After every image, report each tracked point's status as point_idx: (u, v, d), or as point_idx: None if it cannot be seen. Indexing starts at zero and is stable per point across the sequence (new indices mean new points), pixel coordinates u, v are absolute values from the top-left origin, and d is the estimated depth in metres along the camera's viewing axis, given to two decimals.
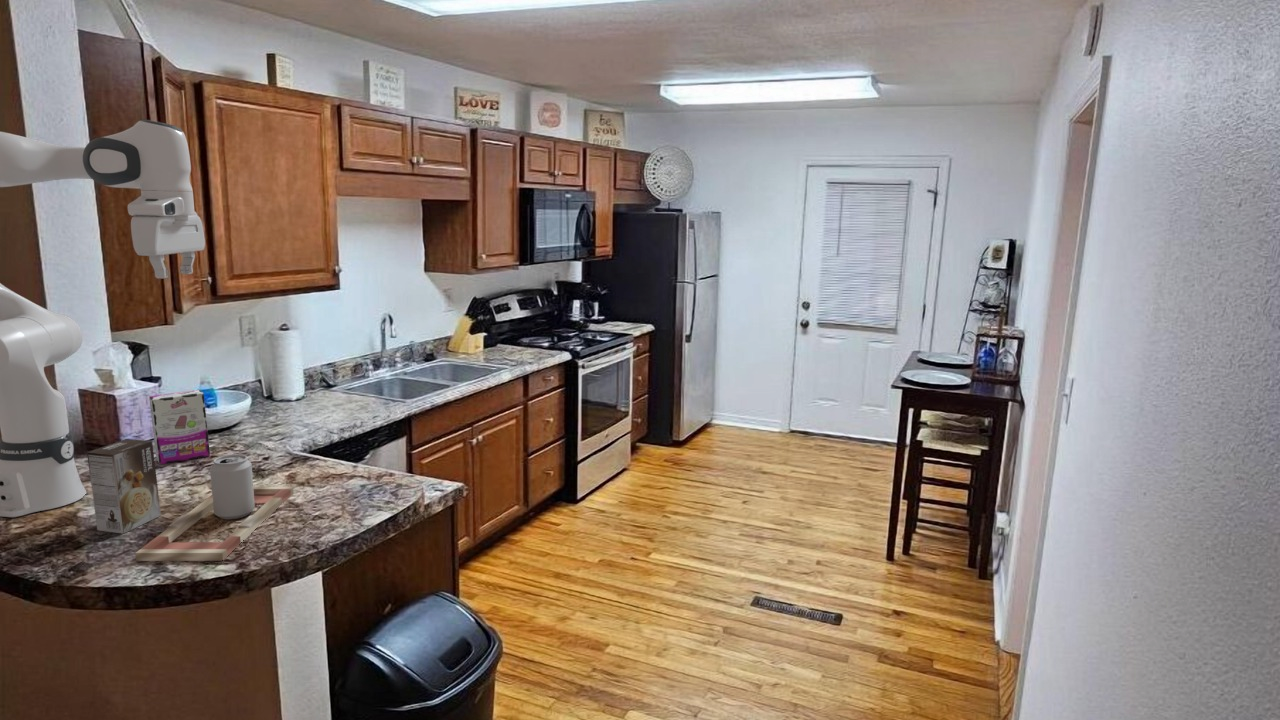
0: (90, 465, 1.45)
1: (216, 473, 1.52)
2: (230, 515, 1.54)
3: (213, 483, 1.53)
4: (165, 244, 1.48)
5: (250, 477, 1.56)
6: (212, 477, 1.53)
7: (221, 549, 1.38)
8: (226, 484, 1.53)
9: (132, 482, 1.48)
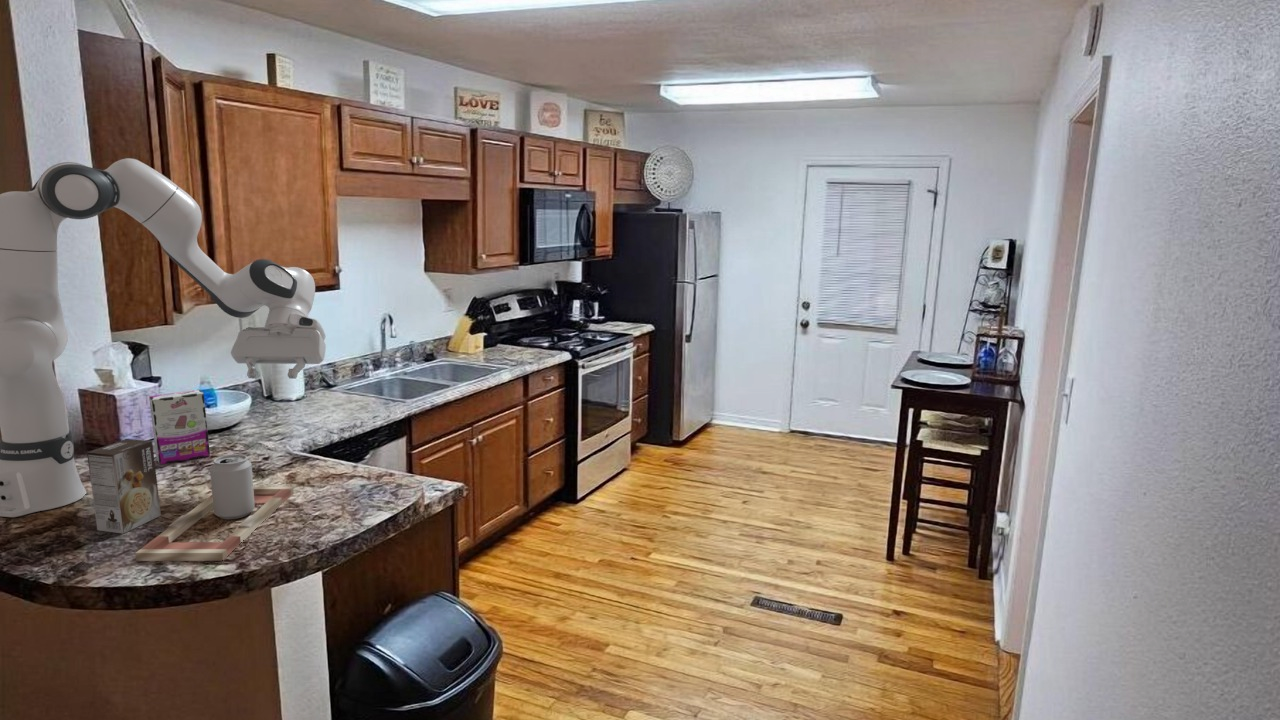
0: (90, 465, 1.45)
1: (216, 473, 1.52)
2: (230, 515, 1.54)
3: (213, 483, 1.53)
4: None
5: (250, 477, 1.56)
6: (212, 477, 1.53)
7: (221, 549, 1.38)
8: (226, 484, 1.53)
9: (132, 482, 1.48)
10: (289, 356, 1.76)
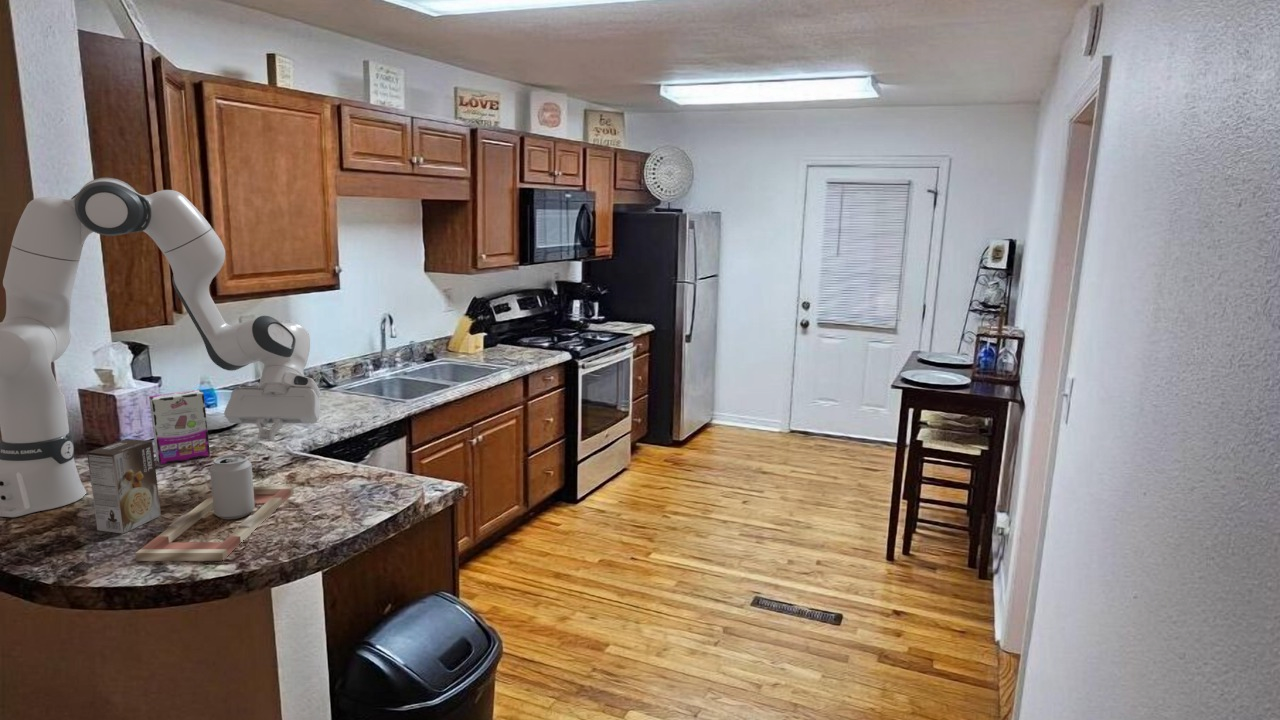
0: (91, 465, 1.45)
1: (216, 473, 1.52)
2: (230, 515, 1.54)
3: (213, 483, 1.53)
4: None
5: (250, 477, 1.56)
6: (212, 477, 1.53)
7: (221, 549, 1.38)
8: (226, 484, 1.53)
9: (132, 482, 1.48)
10: (284, 417, 1.74)
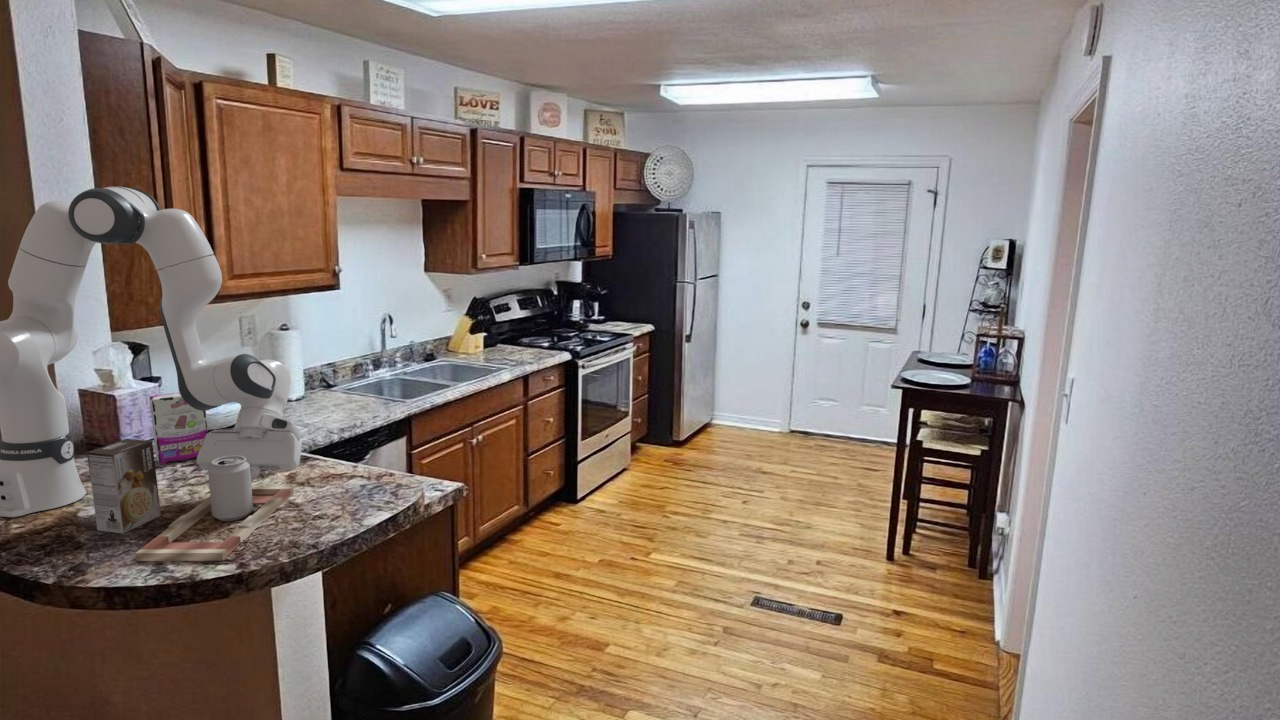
0: (91, 465, 1.45)
1: (213, 475, 1.51)
2: (228, 517, 1.53)
3: (211, 484, 1.52)
4: None
5: (248, 479, 1.55)
6: (210, 478, 1.52)
7: (221, 549, 1.38)
8: (224, 486, 1.52)
9: (132, 482, 1.48)
10: (261, 463, 1.62)
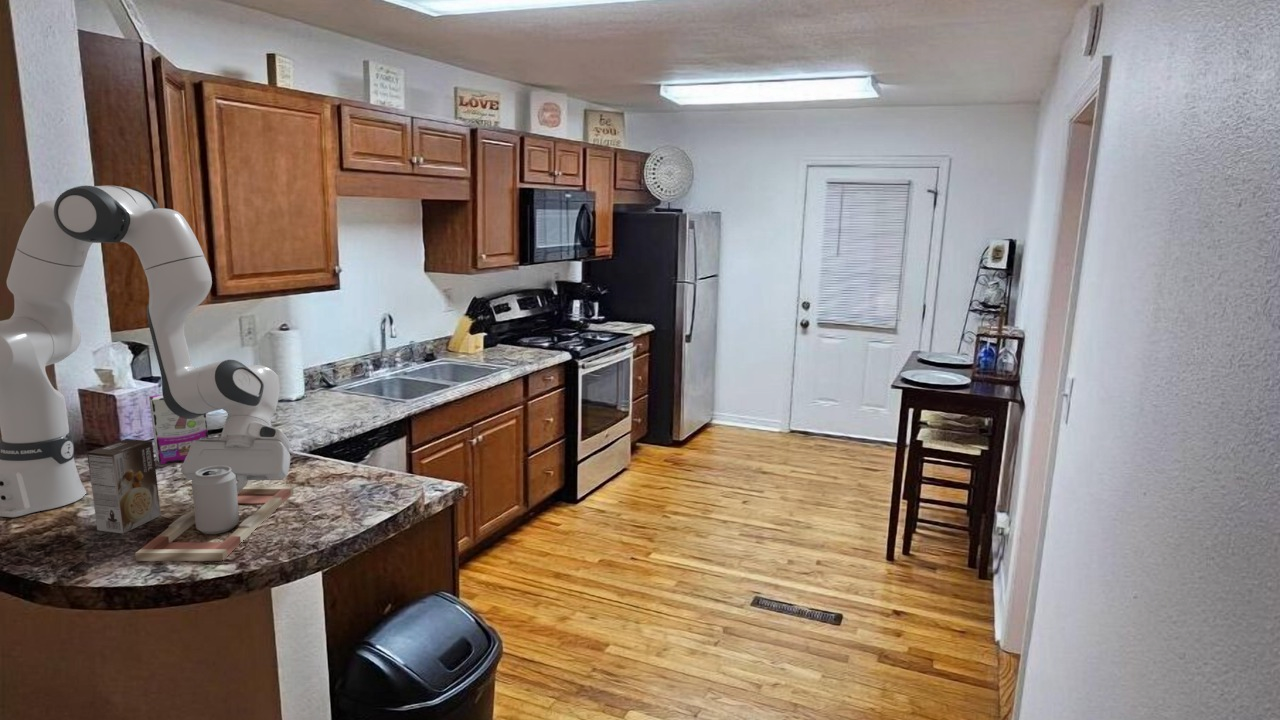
0: (90, 465, 1.45)
1: (197, 486, 1.45)
2: (212, 530, 1.47)
3: (194, 496, 1.46)
4: None
5: (234, 490, 1.49)
6: (193, 490, 1.46)
7: (221, 549, 1.38)
8: (207, 498, 1.45)
9: (132, 482, 1.48)
10: (248, 473, 1.56)
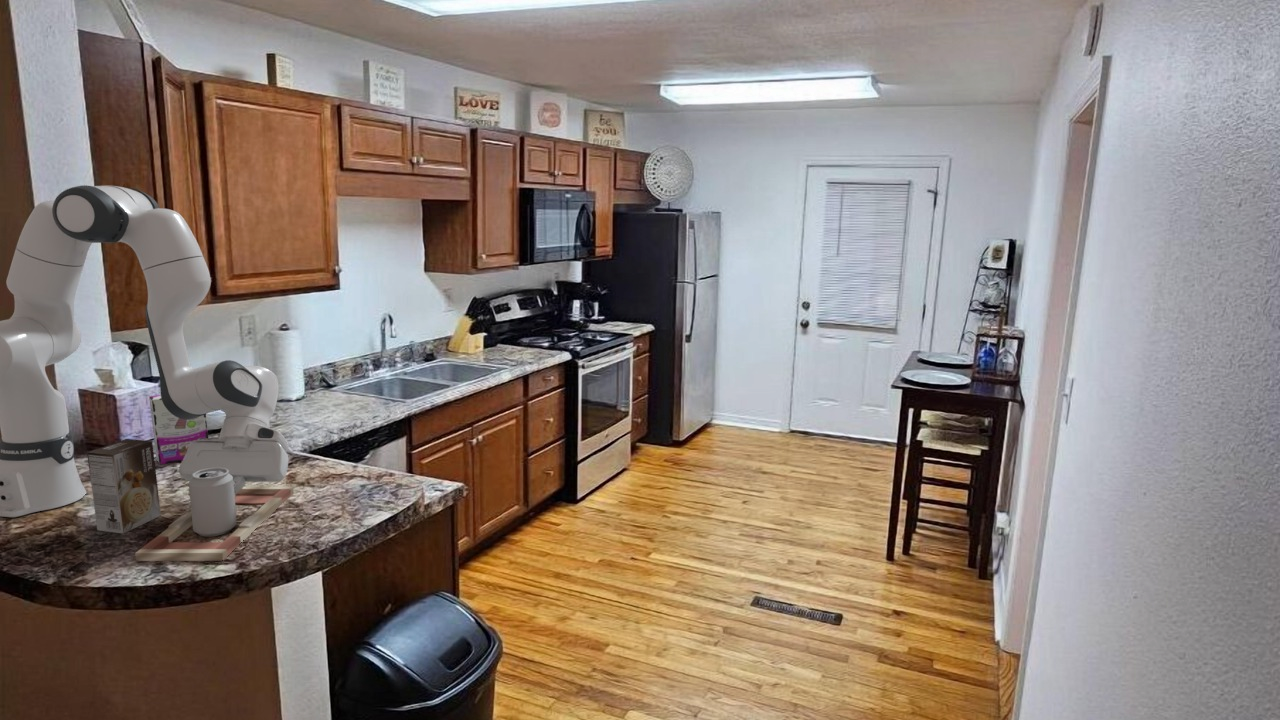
0: (90, 465, 1.45)
1: (194, 488, 1.44)
2: (209, 532, 1.46)
3: (191, 498, 1.45)
4: None
5: (231, 492, 1.48)
6: (190, 492, 1.45)
7: (221, 549, 1.38)
8: (204, 500, 1.44)
9: (132, 482, 1.48)
10: (245, 475, 1.55)
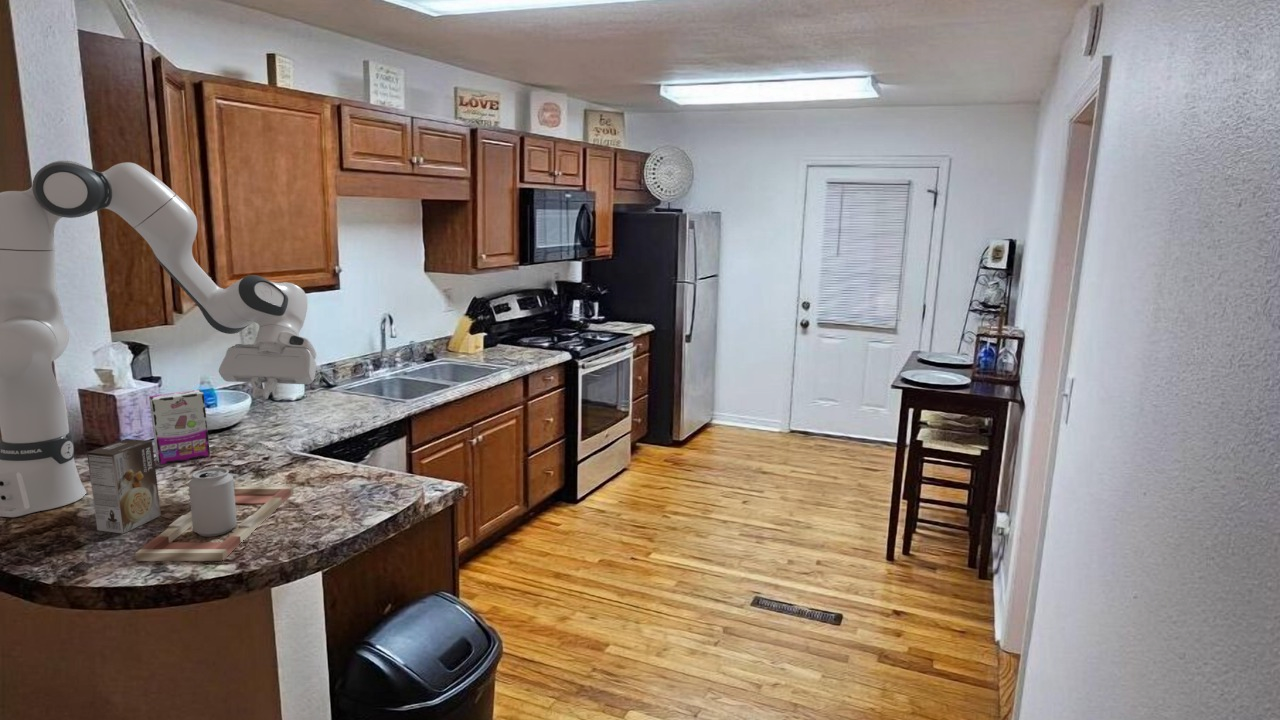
0: (90, 465, 1.45)
1: (194, 488, 1.44)
2: (209, 532, 1.46)
3: (191, 498, 1.45)
4: None
5: (231, 492, 1.48)
6: (190, 492, 1.45)
7: (221, 549, 1.38)
8: (204, 500, 1.44)
9: (132, 482, 1.48)
10: (278, 376, 1.72)
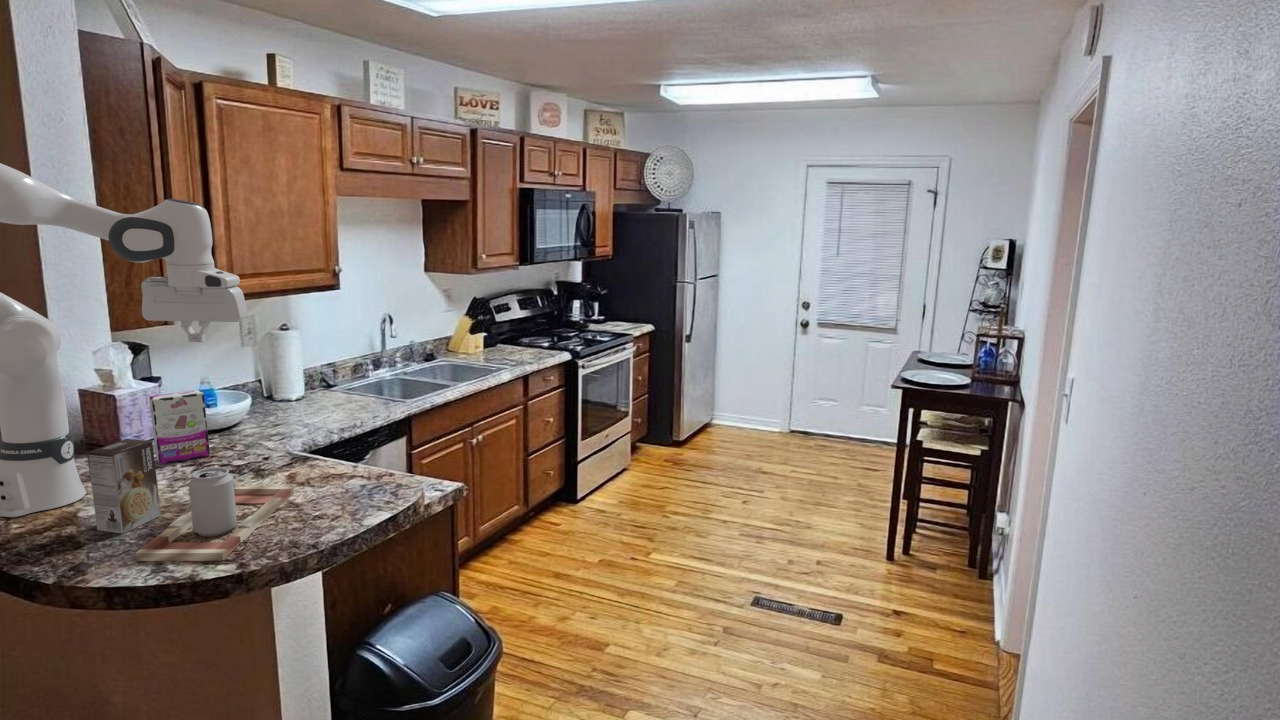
0: (91, 465, 1.45)
1: (194, 488, 1.44)
2: (209, 532, 1.46)
3: (191, 498, 1.45)
4: None
5: (231, 492, 1.48)
6: (190, 492, 1.45)
7: (221, 549, 1.38)
8: (204, 500, 1.44)
9: (132, 482, 1.48)
10: (208, 321, 1.63)
